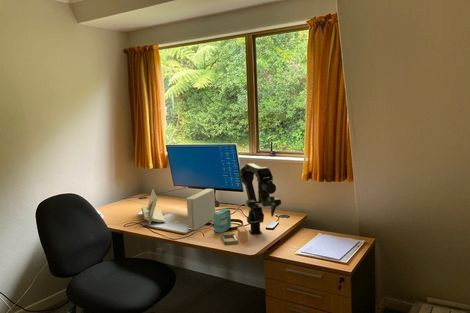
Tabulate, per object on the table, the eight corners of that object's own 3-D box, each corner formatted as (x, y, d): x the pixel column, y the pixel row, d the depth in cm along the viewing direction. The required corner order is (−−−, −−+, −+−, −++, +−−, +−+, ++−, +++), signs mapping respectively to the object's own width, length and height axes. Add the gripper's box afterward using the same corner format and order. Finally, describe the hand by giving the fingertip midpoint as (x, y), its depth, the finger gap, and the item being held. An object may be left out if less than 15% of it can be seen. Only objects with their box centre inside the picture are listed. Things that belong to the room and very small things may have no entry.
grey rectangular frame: (221, 237, 213) (221, 234, 213) (234, 236, 214) (234, 233, 214) (224, 244, 202) (224, 242, 202) (238, 243, 203) (238, 240, 203)
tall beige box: (237, 237, 213) (237, 227, 212) (244, 236, 214) (244, 226, 213) (240, 241, 205) (240, 231, 205) (247, 241, 206) (247, 230, 205)
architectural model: (134, 222, 236) (142, 191, 235) (132, 211, 264) (139, 182, 263) (164, 228, 243) (173, 197, 242) (159, 216, 270) (167, 188, 269)
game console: (187, 229, 229) (185, 198, 226) (207, 216, 253) (206, 188, 251) (195, 230, 226) (193, 199, 224) (215, 217, 251) (214, 189, 248)
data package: (220, 233, 219) (219, 214, 218) (214, 232, 222) (213, 213, 220) (231, 227, 229) (230, 209, 228) (225, 226, 232) (224, 208, 230)
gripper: (250, 194, 193) (251, 223, 196) (284, 191, 197) (284, 220, 199) (245, 190, 204) (246, 217, 206) (277, 187, 208) (278, 214, 210)
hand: (264, 217), depth 205 cm, fingers open, 9 cm apart
